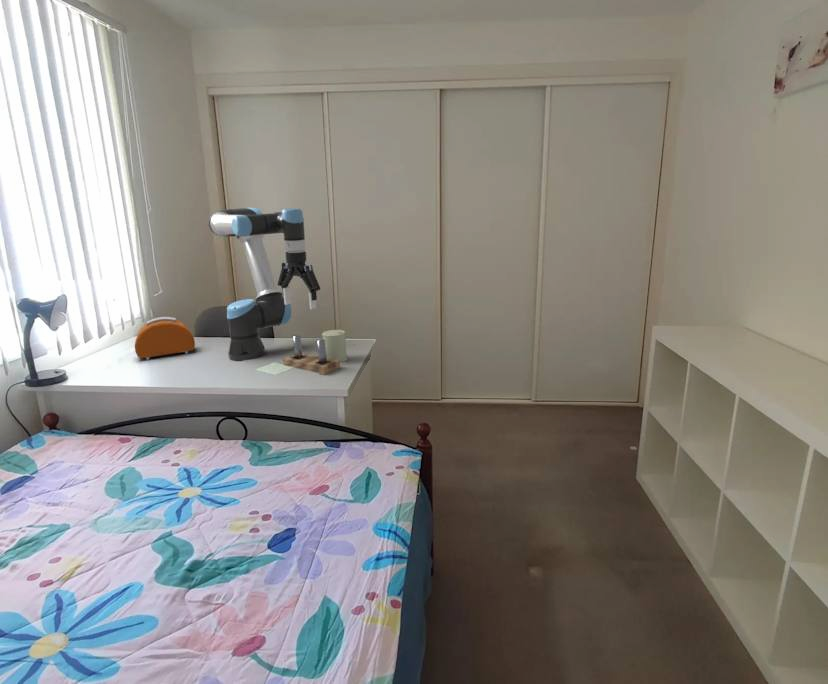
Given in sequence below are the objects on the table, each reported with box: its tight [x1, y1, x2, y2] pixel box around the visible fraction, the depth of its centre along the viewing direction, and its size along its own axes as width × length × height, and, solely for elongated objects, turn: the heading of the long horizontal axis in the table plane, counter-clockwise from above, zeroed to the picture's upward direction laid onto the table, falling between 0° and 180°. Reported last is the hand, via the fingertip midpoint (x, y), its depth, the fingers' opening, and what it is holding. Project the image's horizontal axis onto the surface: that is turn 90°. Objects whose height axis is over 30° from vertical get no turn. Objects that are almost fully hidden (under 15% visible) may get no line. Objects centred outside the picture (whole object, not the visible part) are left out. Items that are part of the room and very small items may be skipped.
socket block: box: [282, 352, 341, 376], centre depth 204 cm, size 22×9×3 cm, turn 56°
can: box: [321, 329, 348, 363], centre depth 210 cm, size 9×9×12 cm
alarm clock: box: [134, 316, 196, 361], centre depth 226 cm, size 23×9×17 cm, turn 115°
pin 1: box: [292, 334, 304, 360], centre depth 206 cm, size 3×3×12 cm
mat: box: [254, 362, 295, 376], centre depth 203 cm, size 12×10×1 cm
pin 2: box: [316, 338, 327, 365], centre depth 199 cm, size 3×3×12 cm
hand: (300, 306), depth 201 cm, fingers open, 13 cm apart
